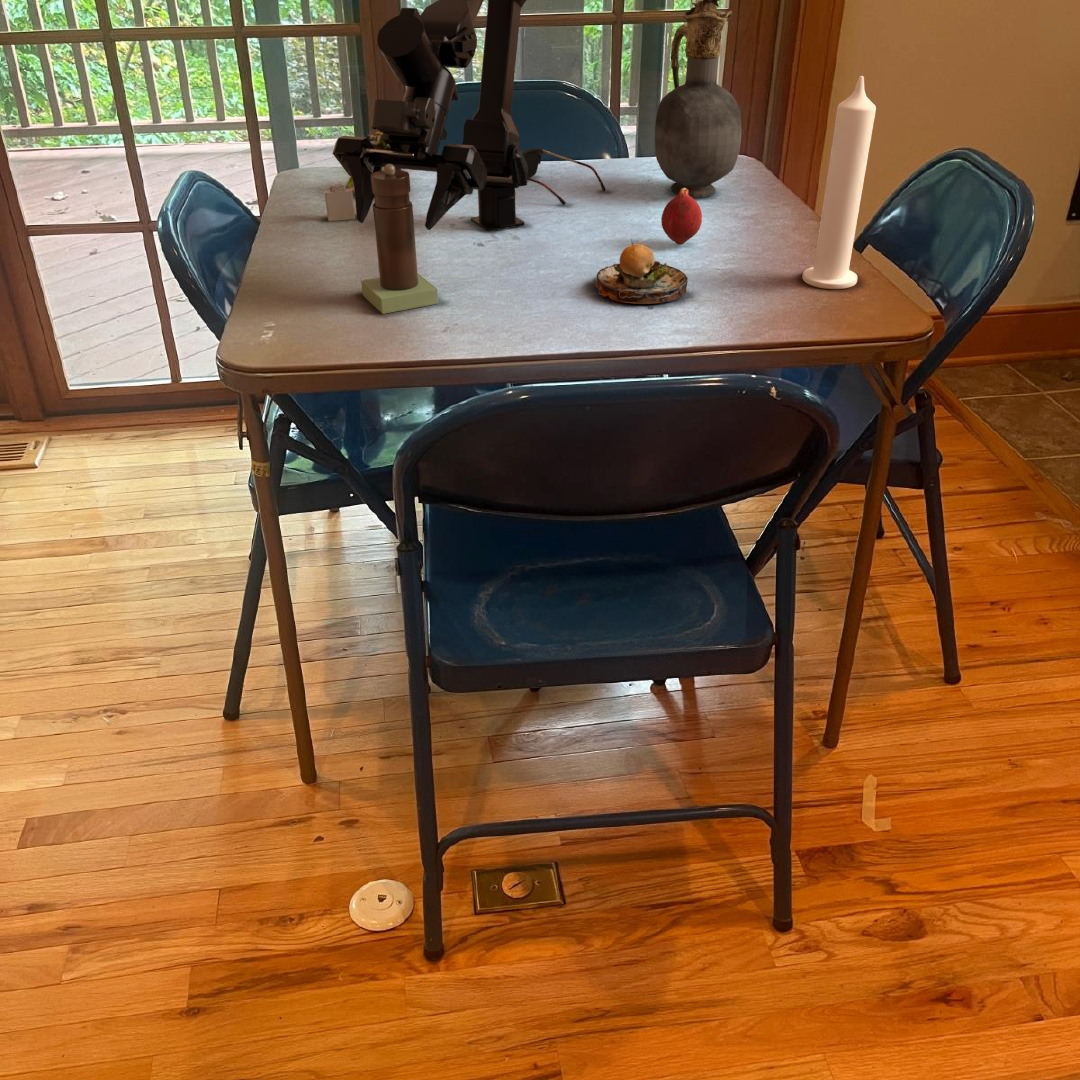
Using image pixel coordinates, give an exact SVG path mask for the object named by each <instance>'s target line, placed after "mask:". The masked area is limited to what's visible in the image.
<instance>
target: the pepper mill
mask: <svg viewBox="0 0 1080 1080" xmlns="http://www.w3.org/2000/svg"><path fill="white" fill-rule="evenodd" d="M410 179H411V178H410V173H409V172H408V171H406V170H403V169H401V170H395V167H394V166H393V165H392V164H387V165H385V167H384V170H383V171H377V172H374V173H372V174H371V186H372V193H373V194H374V199H373V200H374V203H372V214H373V225H374V234H375V235H374V236H375V244H376V255H377V265H378V277H380V285H381V287H382V288H384V289H387V290H395V291H399V290H407V289H411V288H414V287H416V286H417V285H418V274H419V272H418V259H417V249H416V248H417V247H416V234H415V222H414V221H415V220H414V209H413V208H414V207H413V202H412V201H411V199H410V192H411V180H410Z"/></svg>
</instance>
